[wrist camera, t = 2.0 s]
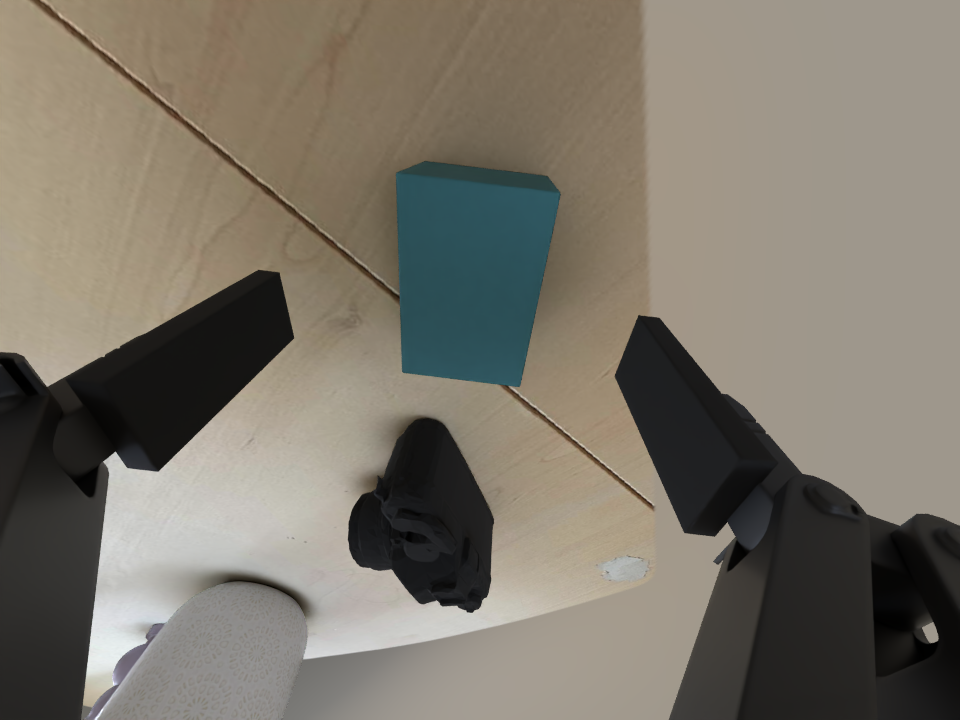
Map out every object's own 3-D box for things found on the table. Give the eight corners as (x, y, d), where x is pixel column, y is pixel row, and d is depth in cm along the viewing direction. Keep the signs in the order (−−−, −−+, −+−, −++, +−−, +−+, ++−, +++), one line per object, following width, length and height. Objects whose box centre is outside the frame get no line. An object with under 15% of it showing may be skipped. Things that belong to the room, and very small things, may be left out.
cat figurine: (155, 637, 59) (83, 741, 49) (136, 618, 54) (53, 728, 44) (206, 644, 59) (145, 749, 49) (191, 626, 55) (120, 737, 45)
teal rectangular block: (423, 160, 17) (395, 172, 12) (548, 175, 17) (561, 192, 12) (422, 326, 22) (401, 373, 17) (518, 337, 22) (520, 387, 17)
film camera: (333, 431, 28) (268, 544, 20) (447, 409, 25) (421, 526, 18) (411, 535, 35) (385, 645, 28) (503, 525, 33) (502, 641, 26)
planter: (219, 550, 40) (86, 746, 27) (347, 603, 46) (285, 785, 33) (177, 592, 48) (57, 760, 35) (291, 633, 53) (223, 790, 41)
